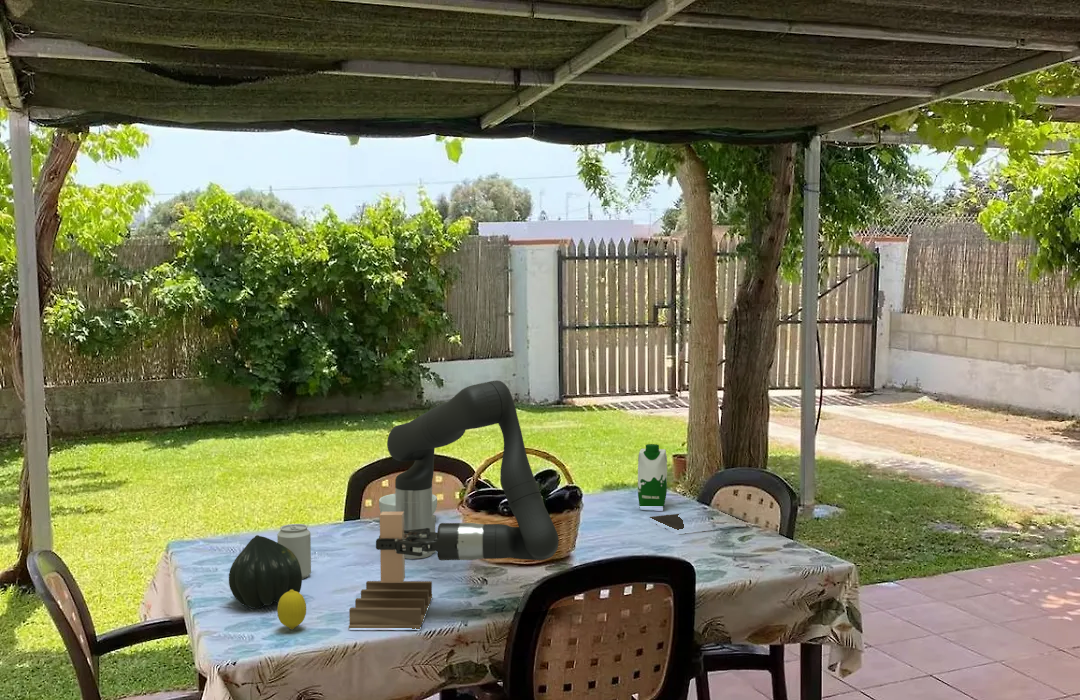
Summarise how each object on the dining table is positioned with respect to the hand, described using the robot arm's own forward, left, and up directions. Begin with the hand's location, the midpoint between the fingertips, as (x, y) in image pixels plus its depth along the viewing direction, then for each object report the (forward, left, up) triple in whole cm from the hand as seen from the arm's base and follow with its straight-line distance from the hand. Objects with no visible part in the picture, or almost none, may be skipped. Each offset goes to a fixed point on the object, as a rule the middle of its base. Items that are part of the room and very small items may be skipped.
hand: (378, 541), depth 198 cm
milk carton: (-117, -11, -15) cm, 118 cm away
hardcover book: (-109, +10, -16) cm, 110 cm away
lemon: (+17, -6, -15) cm, 24 cm away
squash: (+11, -24, -15) cm, 31 cm away
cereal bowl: (-57, -55, -15) cm, 81 cm away
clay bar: (-2, +2, -8) cm, 9 cm away
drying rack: (-2, +2, -15) cm, 15 cm away
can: (-4, -35, -15) cm, 38 cm away
